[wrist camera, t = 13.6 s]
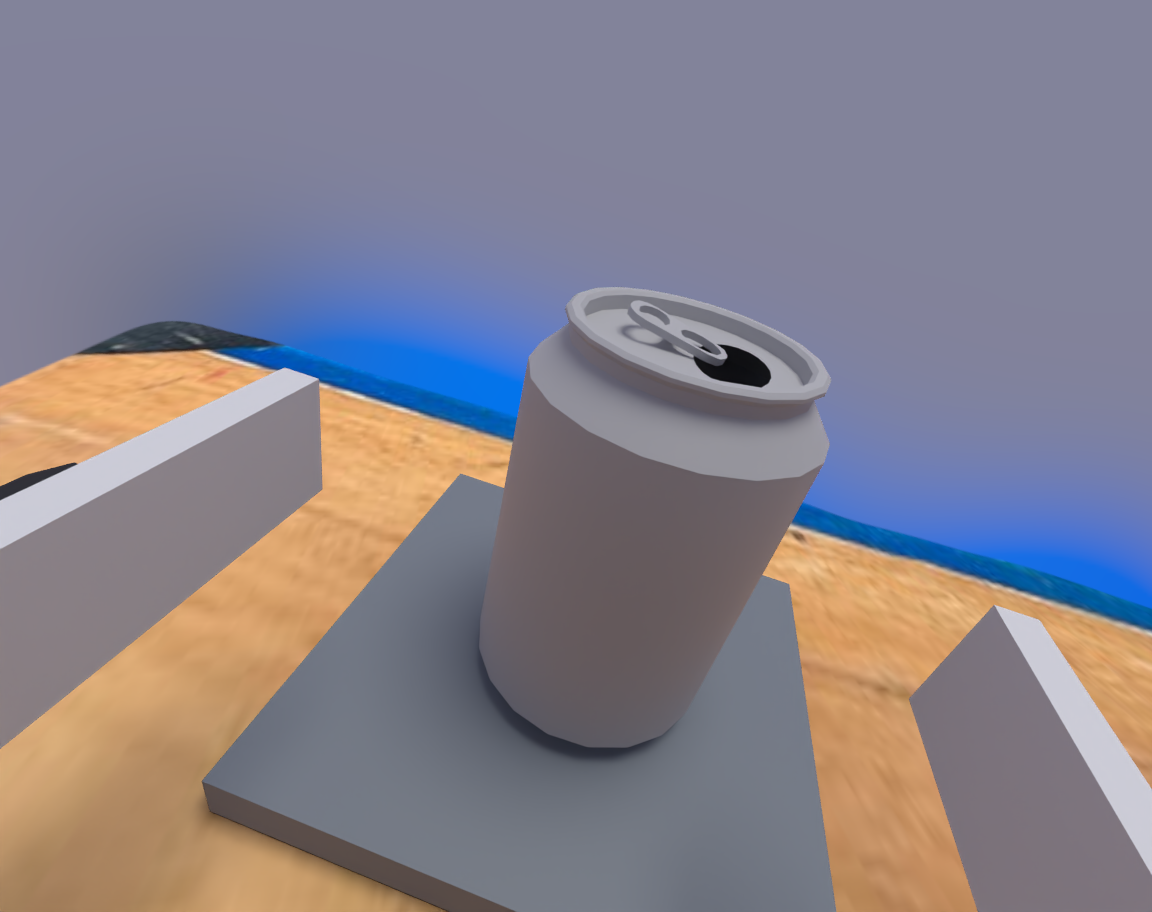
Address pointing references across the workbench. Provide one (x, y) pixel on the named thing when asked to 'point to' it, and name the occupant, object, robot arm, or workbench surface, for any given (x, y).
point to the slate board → (529, 759)
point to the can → (642, 507)
